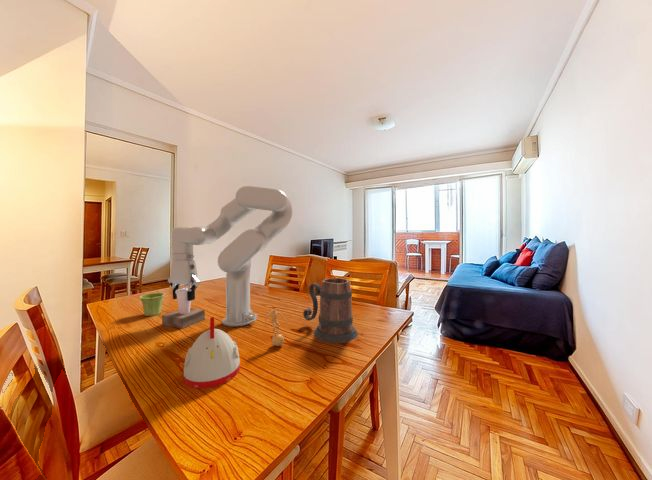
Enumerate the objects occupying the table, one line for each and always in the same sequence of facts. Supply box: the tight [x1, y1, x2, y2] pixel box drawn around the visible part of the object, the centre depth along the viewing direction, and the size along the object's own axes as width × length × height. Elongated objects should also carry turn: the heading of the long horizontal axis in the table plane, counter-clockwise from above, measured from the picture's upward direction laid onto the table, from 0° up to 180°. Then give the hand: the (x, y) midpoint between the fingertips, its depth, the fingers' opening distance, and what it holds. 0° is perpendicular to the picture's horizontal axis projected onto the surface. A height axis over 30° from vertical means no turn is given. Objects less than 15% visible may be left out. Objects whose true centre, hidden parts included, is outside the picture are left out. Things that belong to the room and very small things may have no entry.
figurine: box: [264, 308, 287, 347], centre depth 85 cm, size 8×6×12 cm
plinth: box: [161, 307, 206, 329], centre depth 106 cm, size 11×11×4 cm
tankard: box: [302, 277, 359, 344], centre depth 97 cm, size 24×17×20 cm
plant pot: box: [139, 292, 166, 317], centre depth 115 cm, size 9×9×9 cm
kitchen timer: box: [183, 316, 241, 389], centre depth 68 cm, size 14×14×15 cm
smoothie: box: [175, 285, 192, 314], centre depth 105 cm, size 6×6×14 cm
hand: (183, 299), depth 105 cm, fingers open, 7 cm apart
